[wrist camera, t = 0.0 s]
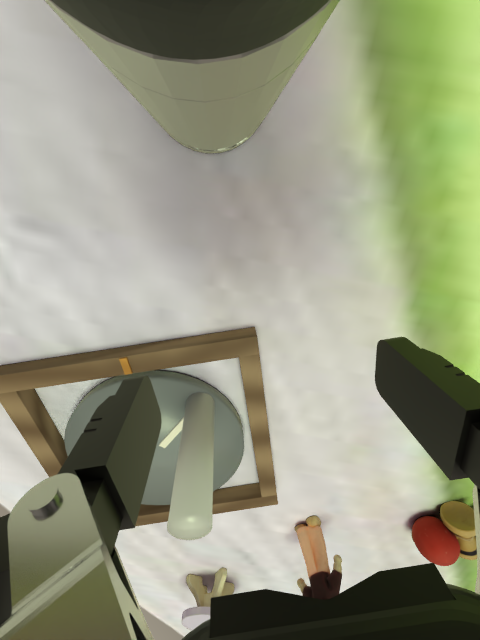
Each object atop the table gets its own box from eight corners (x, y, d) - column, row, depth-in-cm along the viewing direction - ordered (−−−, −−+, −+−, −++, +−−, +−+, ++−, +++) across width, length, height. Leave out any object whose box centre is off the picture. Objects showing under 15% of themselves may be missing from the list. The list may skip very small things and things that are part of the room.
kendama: (508, 468, 43) (404, 517, 43) (556, 512, 38) (439, 569, 38) (496, 488, 48) (402, 533, 47) (538, 530, 43) (433, 581, 42)
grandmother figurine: (310, 509, 42) (345, 629, 30) (330, 515, 43) (370, 634, 32) (281, 536, 44) (303, 656, 33) (300, 541, 46) (328, 660, 34)
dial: (41, 386, 29) (-88, 528, 17) (229, 357, 29) (237, 478, 17) (105, 503, 38) (51, 653, 26) (251, 480, 38) (267, 620, 26)
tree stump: (249, 577, 49) (253, 622, 44) (215, 597, 52) (214, 643, 47) (207, 559, 46) (206, 606, 41) (173, 582, 48) (167, 629, 43)
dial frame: (-1, 365, 28) (-18, 379, 26) (254, 326, 28) (257, 337, 26) (92, 518, 39) (85, 535, 37) (275, 489, 39) (278, 505, 37)
